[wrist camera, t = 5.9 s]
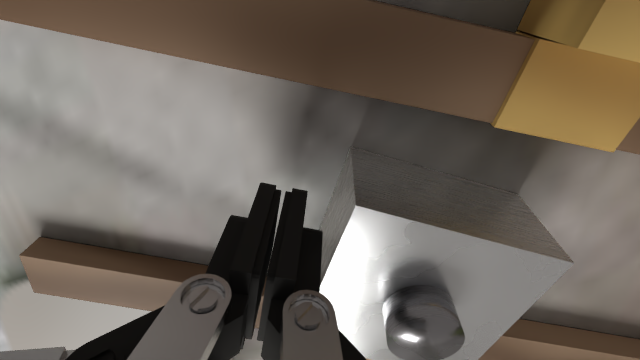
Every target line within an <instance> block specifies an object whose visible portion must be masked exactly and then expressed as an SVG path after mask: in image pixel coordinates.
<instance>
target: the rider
mask: <svg viewBox="0 0 640 360" xmlns="http://www.w3.org/2000/svg"><path fill="white" fill-rule="evenodd" d="M319 230H320V231H323V239H322V259H321V279H320V293H321V294H323V295H324V296H325V297H327V298H328V299H329V300H330V302H331V303H332V305H333V307H334V310H335V313H336V319H337V325H338V329H339V330H340V331H341V332H342V333H343V334H344V336H345V337H346V338H347V339H348V340H349V341H350V342H351V343H352V344H353V345H354V346H355V347H356V349H357V350H358V351H359V352H360V353H361V354H362V355H363V356H364V357H365V358H366V359H370V360H478V359H479V358H480V357H481V356H482V355H483V354H484V353H485V352H486V351H487V350H488V349H489V348H490V347H491V346H492V345H493V344H494V343H495V342H496V341H497V340H498V339H499V338H500V337H501V336H502V335H503V334H504V333H505V332H506V331H507V330H508V329H509V328H510V327H511V326H512V325H513V324H514V323H515V322H516V321H517V320H518V319H519V318H520V317H521V316H522V315H523V314H524V313H525V312H526V311H527V310H528V309H529V308H530V307H531V306H532V305H533V304H534V303H535V302H536V301H537V300H538V299H539V298H540V297H541V296H542V295H543V294H544V293H545V292H546V291H547V290H548V289H549V288H550V287H551V286H552V285H553V284H554V283H555V282H556V281H557V280H558V279H559V278H560V277H561V276H562V275H563V274H564V273H565V272H566V271H567V270H568V269H569V268H570V267H571V266H572V265H573V264H574V262H573V261H572V260H571V259H570V257H569V256H568V255H567V254H566V253H565V251H564V250H563V249H562V248H561V246H560V245H559V244H558V243H557V242H556V240H555V239H554V238H553V237H552V235H551V234H550V233H549V232H548V231H547V229H546V228H545V227H544V226H543V224H542V223H541V222H540V221H539V220H538V218H537V217H536V216H535V215H534V213H533V212H532V211H531V210H530V209H529V207H528V206H527V205H526V204H525V202H524V201H523V200H522V199H521V198H520V196H519V195H518V194H516V193H512V192H509V191H505V190H502V189H498V188H495V187H491V186H488V185H484V184H481V183H477V182H474V181H470V180H467V179H463V178H460V177H456V176H453V175H449V174H446V173H442V172H439V171H435V170H432V169H429V168H425V167H422V166H418V165H415V164H411V163H408V162H404V161H401V160H397V159H394V158H390V157H387V156H383V155H380V154H376V153H373V152H369V151H366V150H362V149H359V148H355V147H352V146H351V147H350V150H349V152H348V155H347V158H346V160H345V163H344V165H343V168H342V171H341V173H340V176H339V179H338V181H337V184H336V187H335V189H334V192H333V194H332V197H331V200H330V202H329V205H328V208H327V210H326V213H325V215H324V218H323V221H322V223H321V226H320V229H319Z"/></svg>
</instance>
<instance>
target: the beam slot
mask: <svg viewBox="0 0 640 360" xmlns="http://www.w3.org/2000/svg"><path fill="white" fill-rule="evenodd" d="M0 19H1V20H6V21H10V22H15V23H20V24H25V25H29V26H34V27H39V28H43V29H48V30H53V31H58V32H62V33H67V34H72V35H77V36H81V37H86V38H91V39H96V40H100V41H105V42H110V43H114V44H119V45H124V46H129V47H133V48H138V49H143V50H148V51H152V52H157V53H162V54H167V55H171V56H176V57H181V58H185V59H190V60H195V61H200V62H204V63H209V64H214V65H219V66H223V67H228V68H233V69H238V70H242V71H247V72H252V73H256V74H261V75H266V76H271V77H275V78H280V79H285V80H290V81H294V82H299V83H304V84H309V85H313V86H318V87H323V88H327V89H332V90H337V91H342V92H346V93H351V94H356V95H361V96H365V97H370V98H375V99H380V100H384V101H389V102H394V103H398V104H403V105H408V106H413V107H417V108H422V109H427V110H432V111H436V112H441V113H446V114H451V115H455V116H460V117H465V118H469V119H474V120H479V121H484V122H488V123H490V124H491V125H492V126H493V127H495V128H500V129H505V130H509V131H514V132H519V133H524V134H528V135H533V136H538V137H543V138H547V139H552V140H557V141H562V142H566V143H571V144H576V145H581V146H585V147H590V148H595V149H600V150H604V151H609V152H614V151H615V150H621V151H626V152H630V153H635V154H640V0H531V1H530V3H529V5H528V7H527V9H526V11H525V13H524V16H523V18H522V20H521V22H520V24H519V26H518V28H517V30H520V31H523V32H526V33H530V34H533V35H530V34H525V33H521V32H517V31H516V32H515V33H513V32H508V31H504V30H500V29H496V28H491V27H487V26H483V25H478V24H474V23H470V22H465V21H461V20H457V19H452V18H448V17H444V16H439V15H435V14H431V13H426V12H422V11H418V10H413V9H409V8H405V7H400V6H396V5H392V4H387V3H383V2H379V1H375V0H0ZM534 35H536V36H534ZM538 36H539V37H538ZM19 256H20V259H21V261H22V264H23V266H24V269H25V271H26V274H27V276H28V279H29V281H30V284H31V286H32V289H33V291H34V292H35V293H41V294H47V295H53V296H60V297H66V298H73V299H78V300H85V301H92V302H97V303H104V304H110V305H116V306H122V307H128V308H135V309H141V310H147V311H154V310H156V309H158V308H160V307H162V306H165V305H166V304H167V302H168V301H169V299H170V298H171V296H172V295H173V294H174V292H175V291H176V289H177V288H178V287H179V286H180V285H181V284H182V283H183V282H184V281H185V280H187V279H189V278H190V277H193V276H196V275H199V274H205V273H206V271H207V268H208V266H207V265H201V264H196V263H190V262H184V261H178V260H172V259H166V258H160V257H155V256H149V255H143V254H137V253H131V252H125V251H120V250H114V249H108V248H102V247H96V246H90V245H84V244H79V243H73V242H67V241H61V240H55V239H49V238H43V237H39V238H38V239H37V240H36V241H35V242H34V243H33V244H31V245H30V246H29V247H28V248H27V249H26V250H25V251H24V252H22V253H21V254H20V255H19ZM266 278H267V276H266ZM265 284H266V279H265V283H264V288H263V292H262V297H261V301H260V305H259V310H258V314H257V318H256V323H255V327H254V328H259V324H260V317H261V311H262V304H263V298H264V291H265ZM367 360H370V359H367ZM478 360H640V339H634V338H628V337H622V336H617V335H611V334H605V333H599V332H593V331H587V330H581V329H576V328H570V327H564V326H558V325H552V324H546V323H541V322H535V321H529V320H523V319H518V320H517V321H516V322H515V323H514V324H513V325H512V326H511V327H510V328H509V329H508V330H507V331H506V332H505V333H504V334H503V335H502V336H501V337H500V338H499V339H498V340H497V341H496V342H495V343H494V344H493V345H492V346H491V347H490V348H489V349H488V350H487V351H486V352H485V353H484V354H483V355H482V356H481V357H480V358H479V359H478Z"/></svg>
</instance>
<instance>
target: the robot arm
mask: <svg viewBox="0 0 640 360" xmlns="http://www.w3.org/2000/svg"><path fill="white" fill-rule="evenodd" d="M307 192H308V191H305V190H299V189H294V188H293V189H292V192H287V191H286V193H285V197H284V202H283V206H282V211H281V215H280V220H279V224H278V228H277V233H276V237H275V242H274V246H273V241H274V235H275V228H276V222H277V216H278V209H279V203H280V196H281V190H276V185H272V184H266V183H260V185H259V188H258V191H257V194H256V197H255V200H254V202H253V205H252V208H251V211H250V214H249V216H248V218H245V217H240V216H234V215H231V216H230V218H229V220H228V222H227V224H226V227H225V229H224V231H223V234H222V236H221V238H220V241H219V243H218V245H217V248H216V250H215V252H214V255H213V257H212V259H211V262H210V264H209V266H208V268H207V271H206V273H205V274H199V275H196V276H193V277H190V278H189V279H187V280H185V281H184V282H183V283H182V284H181V285H180V286H179V287H178V288H177V289H176V291H175V292H174V294H173V295H172V296H171V298H170V299H169V301H168V302H167V304H166V305H165V306H162V307H160V308H158V309H156V310H154V311H152V312H150V313H148V314H146V315H144V316H142V317H140V318H138V319H136V320H133V321H131V322H129V323H127V324H125V325H123V326H121V327H119V328H117V329H115V330H113V331H111V332H109V333H106V334H104V335H102V336H100V337H98V338H96V339H94V340H92V341H90V342H88V343H86V344H84V345H83V346H81V347H79V348H78V349H76V350H69V351H66V349H65V347H55V348H42V349H29V350H15V351H2V352H0V360H229V359H231V358H232V357H234V356H235V355H237V354H238V353H239V352H240V349H243V345H244V341H245V338H246V339H252V336H253V332H254V327H255V323H256V318H257V314H258V310H259V305H260V301H261V297H262V292H263V288H264V283H265V279H266V284H265V291H264V298H263V304H262V311H261V317H260V324H259V331H258V337H257V340H259V341H263V347H262V353H261V357H262V358H263V359H264V360H367V359H366V358H365V357H364V356H363V355H362V354H361V353H360V352H359V351H358V350H357V349H356V347H355V346H354V345H353V344H352V343H351V342H350V341H349V340H348V339H347V338H346V337H345V336H344V334H343V333H342V332H341V331H340V330H339V329H338V325H337V319H336V313H335V310H334V307H333V305H332V303H331V302H330V300H329V299H328V298H327V297H325V296H324V295H323V294H321V293H320V279H321V259H322V239H323V231H320V230H315V229H309V228H303V223H304V215H305V208H306V200H307ZM272 247H273V250H272ZM271 253H272V255H271ZM270 257H271V259H270ZM269 262H270V264H269ZM268 266H269V268H268ZM267 270H268V273H267ZM266 275H267V278H266Z"/></svg>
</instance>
